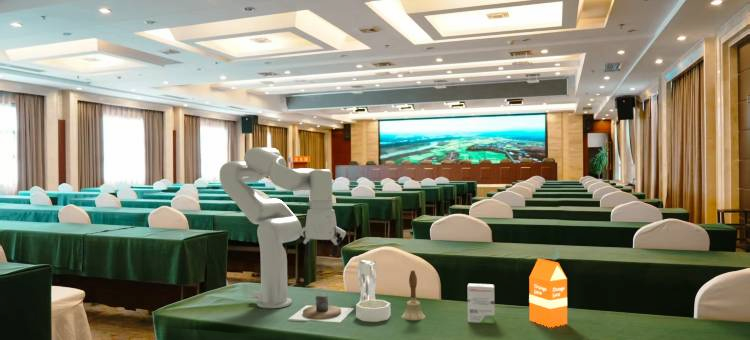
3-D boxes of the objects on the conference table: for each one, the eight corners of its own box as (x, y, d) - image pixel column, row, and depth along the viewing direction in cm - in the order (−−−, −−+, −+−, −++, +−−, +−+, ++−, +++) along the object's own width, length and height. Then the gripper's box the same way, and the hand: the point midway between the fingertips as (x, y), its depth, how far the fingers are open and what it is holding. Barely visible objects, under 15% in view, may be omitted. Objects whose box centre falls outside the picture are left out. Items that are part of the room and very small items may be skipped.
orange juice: (549, 328, 160) (549, 264, 160) (529, 320, 168) (528, 259, 167) (567, 324, 164) (567, 261, 163) (546, 316, 171) (546, 256, 171)
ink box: (494, 319, 169) (494, 283, 169) (494, 324, 165) (494, 287, 164) (468, 317, 171) (468, 282, 171) (467, 322, 167) (467, 286, 166)
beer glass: (378, 299, 195) (377, 260, 195) (376, 304, 188) (375, 263, 188) (359, 299, 196) (359, 259, 195) (357, 304, 189) (356, 263, 188)
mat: (288, 320, 170) (288, 318, 170) (306, 307, 186) (306, 305, 186) (340, 324, 166) (340, 322, 166) (354, 309, 182) (354, 308, 182)
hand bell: (427, 321, 168) (427, 273, 167) (402, 322, 167) (402, 273, 167) (423, 314, 176) (423, 267, 175) (399, 315, 175) (399, 268, 175)
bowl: (353, 322, 168) (353, 307, 168) (362, 313, 178) (362, 298, 178) (385, 325, 165) (385, 309, 165) (392, 315, 176) (392, 300, 175)
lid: (296, 317, 171) (296, 299, 171) (311, 306, 184) (311, 290, 184) (333, 320, 168) (333, 302, 168) (346, 309, 181) (345, 292, 181)
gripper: (293, 206, 174) (293, 256, 175) (342, 207, 170) (342, 258, 170) (301, 204, 181) (302, 252, 182) (348, 205, 177) (349, 254, 177)
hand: (321, 255), depth 176 cm, fingers open, 9 cm apart
